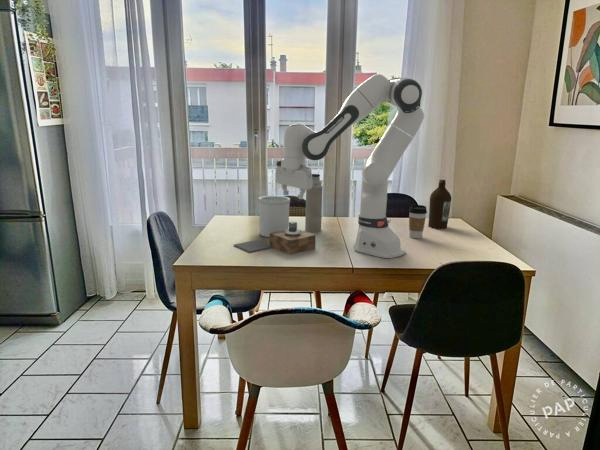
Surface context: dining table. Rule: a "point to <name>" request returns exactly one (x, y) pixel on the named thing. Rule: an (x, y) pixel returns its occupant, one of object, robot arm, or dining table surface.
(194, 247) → the dining table surface
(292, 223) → the end cover
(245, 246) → the mat
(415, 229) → the coffee cup
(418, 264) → the dining table surface
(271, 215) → the utensil holder
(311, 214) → the thermos bottle
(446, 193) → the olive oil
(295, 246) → the socket block
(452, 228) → the dining table surface
